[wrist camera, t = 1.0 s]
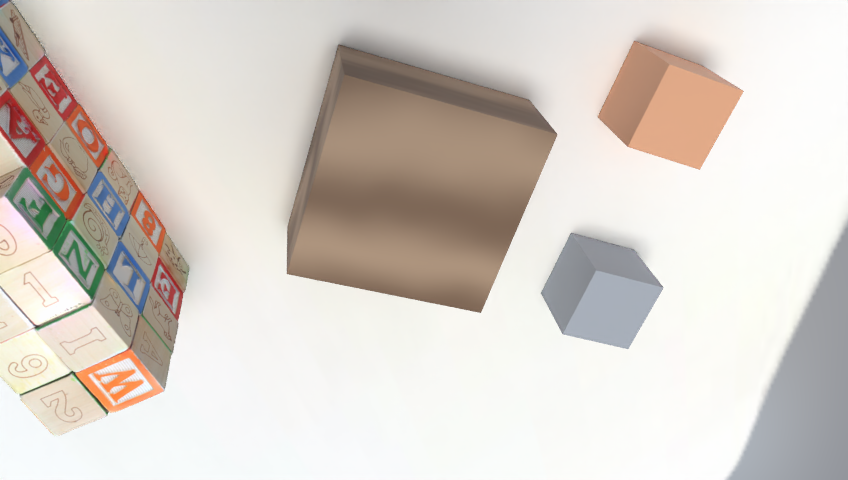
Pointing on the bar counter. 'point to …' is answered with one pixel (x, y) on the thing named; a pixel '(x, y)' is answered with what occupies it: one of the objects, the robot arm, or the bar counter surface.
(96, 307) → the stack of blocks
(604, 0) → the bar counter surface
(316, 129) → the walnut block
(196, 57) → the bar counter surface
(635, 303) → the grey cube
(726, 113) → the rust cube
